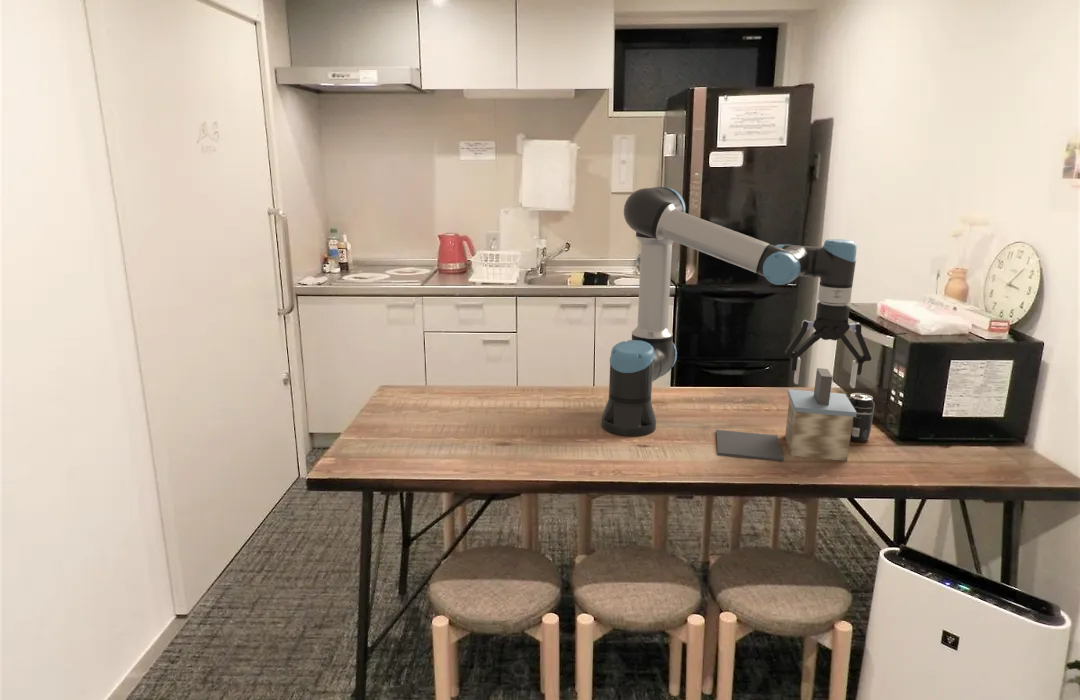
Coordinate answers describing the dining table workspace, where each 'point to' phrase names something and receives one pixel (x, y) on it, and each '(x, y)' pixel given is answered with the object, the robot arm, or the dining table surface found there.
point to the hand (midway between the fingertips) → (823, 384)
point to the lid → (821, 398)
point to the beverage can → (861, 416)
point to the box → (818, 435)
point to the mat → (749, 445)
